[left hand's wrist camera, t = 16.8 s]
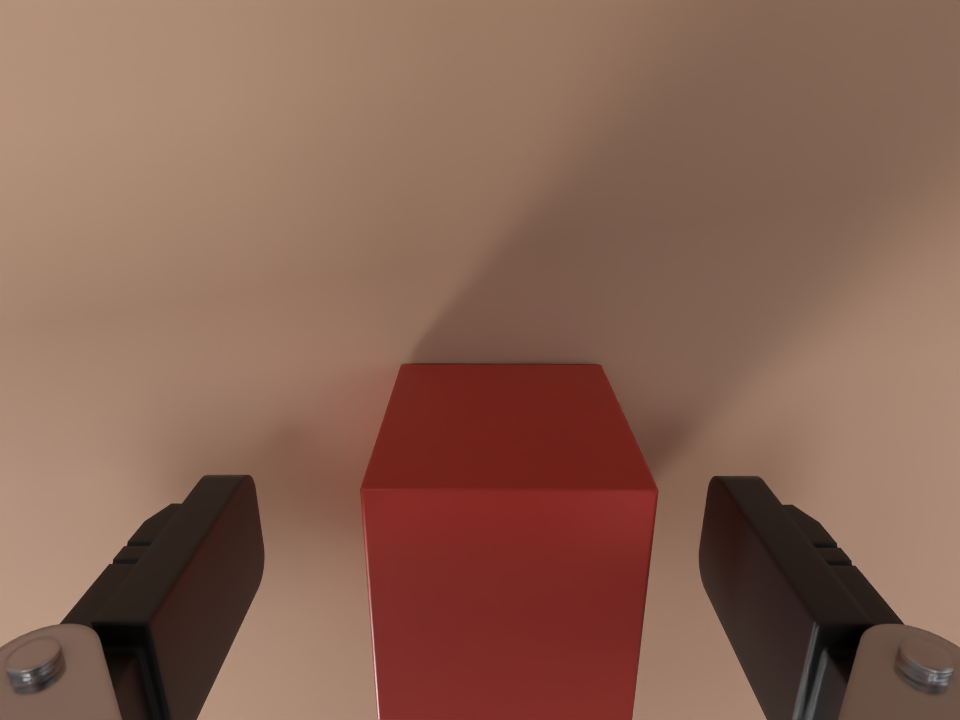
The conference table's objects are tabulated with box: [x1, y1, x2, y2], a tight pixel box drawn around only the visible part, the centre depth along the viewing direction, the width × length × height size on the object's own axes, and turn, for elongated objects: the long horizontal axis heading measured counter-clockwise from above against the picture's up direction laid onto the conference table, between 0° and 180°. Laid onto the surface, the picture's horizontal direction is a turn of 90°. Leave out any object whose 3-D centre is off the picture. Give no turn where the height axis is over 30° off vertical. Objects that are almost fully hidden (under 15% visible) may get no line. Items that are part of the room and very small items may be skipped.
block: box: [360, 364, 658, 720], centre depth 12 cm, size 4×4×5 cm
